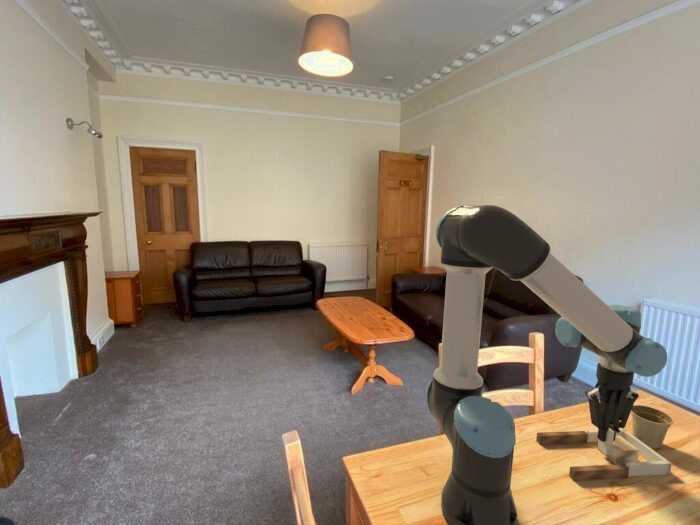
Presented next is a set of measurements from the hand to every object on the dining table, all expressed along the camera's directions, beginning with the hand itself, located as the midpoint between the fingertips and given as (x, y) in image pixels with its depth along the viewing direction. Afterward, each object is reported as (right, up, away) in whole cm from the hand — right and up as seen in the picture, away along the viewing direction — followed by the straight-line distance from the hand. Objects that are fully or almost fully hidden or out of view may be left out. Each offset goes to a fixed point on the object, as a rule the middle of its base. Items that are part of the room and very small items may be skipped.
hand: (604, 451), depth 94 cm
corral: (+6, -2, +1) cm, 6 cm away
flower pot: (+17, -1, +7) cm, 18 cm away
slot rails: (-7, -2, 0) cm, 7 cm away
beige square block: (+4, -2, +1) cm, 4 cm away
